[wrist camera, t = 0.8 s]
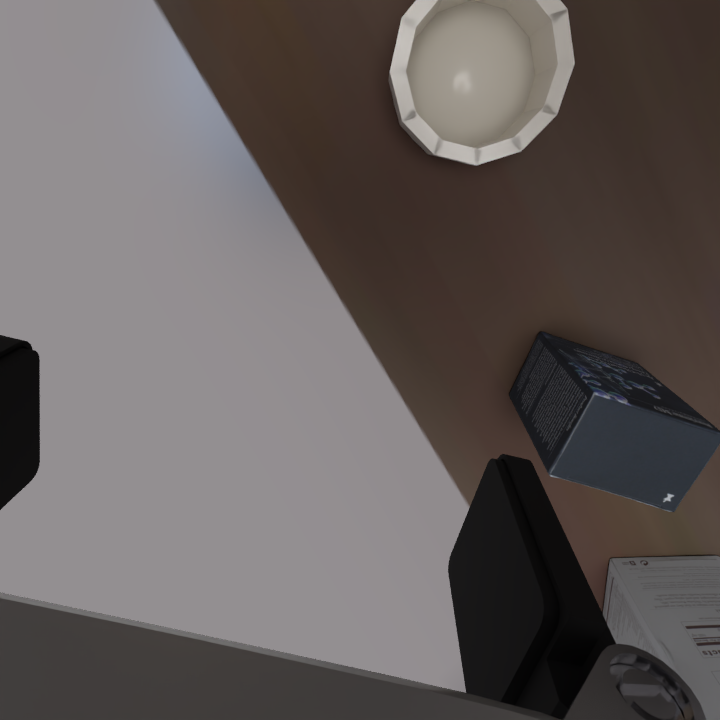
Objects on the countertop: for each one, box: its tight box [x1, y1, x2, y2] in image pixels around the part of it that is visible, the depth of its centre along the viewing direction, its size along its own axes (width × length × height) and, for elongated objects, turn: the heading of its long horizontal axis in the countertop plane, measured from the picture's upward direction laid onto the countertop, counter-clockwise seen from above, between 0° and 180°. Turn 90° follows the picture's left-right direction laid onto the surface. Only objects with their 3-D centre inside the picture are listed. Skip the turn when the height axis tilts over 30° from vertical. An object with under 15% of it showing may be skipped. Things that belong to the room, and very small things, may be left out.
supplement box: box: [603, 556, 720, 720], centre depth 37 cm, size 10×9×17 cm
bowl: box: [389, 0, 575, 166], centre depth 28 cm, size 9×9×5 cm
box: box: [509, 332, 720, 512], centre depth 33 cm, size 8×6×11 cm
